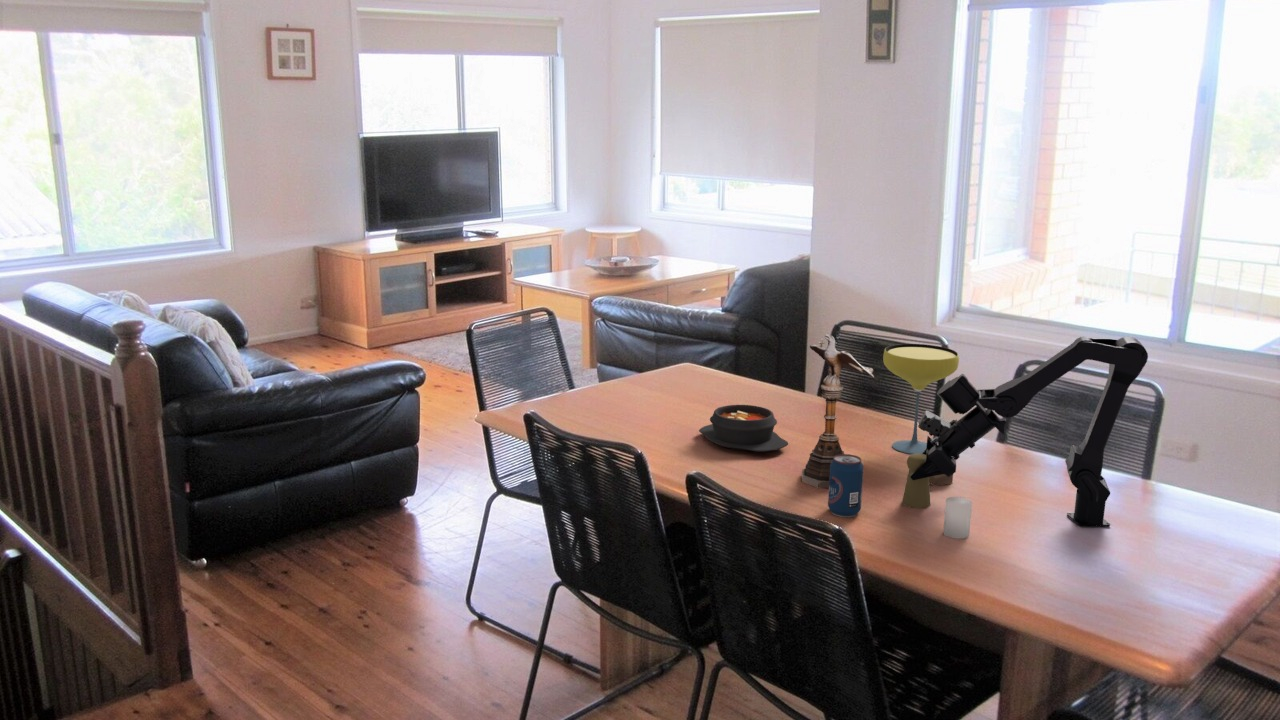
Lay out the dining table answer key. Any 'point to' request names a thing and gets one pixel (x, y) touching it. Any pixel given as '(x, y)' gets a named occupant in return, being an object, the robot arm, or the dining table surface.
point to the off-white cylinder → (957, 517)
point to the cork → (916, 485)
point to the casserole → (744, 428)
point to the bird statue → (829, 413)
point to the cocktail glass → (919, 376)
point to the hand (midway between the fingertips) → (911, 473)
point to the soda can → (845, 485)
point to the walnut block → (940, 479)
